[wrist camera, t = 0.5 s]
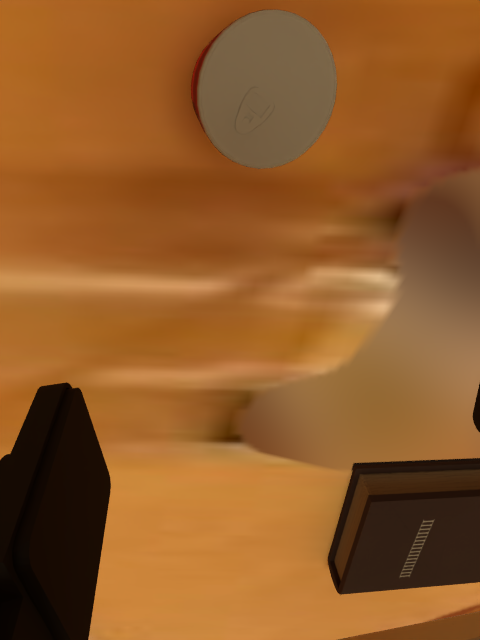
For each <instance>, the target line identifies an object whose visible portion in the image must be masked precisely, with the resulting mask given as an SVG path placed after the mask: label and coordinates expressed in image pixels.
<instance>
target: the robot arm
mask: <svg viewBox="0 0 480 640" xmlns="http://www.w3.org/2000/svg"><path fill="white" fill-rule="evenodd" d="M473 420H474V424H475V426H476V428H477V429H478V431H479V432H480V384H479V389H478V393H477V398H476V402H475V407H474V411H473ZM110 489H111V483H110V475H109V472H108V469H107V466H106V463H105V460H104V457H103V454H102V451H101V448H100V445H99V442H98V439H97V436H96V433H95V430H94V427H93V424H92V421H91V418H90V415H89V412H88V410H87V407H86V404H85V401H84V398H83V395H82V392H81V390H80V389H79V388H73V389H72V387H71V385H70V384H69V383H61V384H54V385H47V386H41V387H39V389H38V390H37V393H36V395H35V398H34V400H33V402H32V405H31V407H30V409H29V412H28V414H27V416H26V419H25V421H24V423H23V426H22V428H21V430H20V433H19V435H18V438H17V440H16V442H15V445H14V447H13V449H12V452H11V454H8V455H5V456H4V457H3V458H2V459H1V460H0V640H88V637H89V631H90V624H91V617H92V611H93V604H94V597H95V591H96V584H97V577H98V570H99V564H100V557H101V550H102V544H103V537H104V530H105V524H106V517H107V510H108V503H109V497H110ZM338 640H480V612H475V613H470V614H465V615H460V616H454V617H450V618H444V619H439V620H434V621H429V622H424V623H419V624H414V625H409V626H404V627H399V628H394V629H389V630H384V631H379V632H373V633H368V634H363V635H358V636H353V637H348V638H343V639H338Z"/></svg>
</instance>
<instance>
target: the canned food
mask: <svg viewBox="0 0 480 640" xmlns="http://www.w3.org/2000/svg"><path fill="white" fill-rule="evenodd" d="M336 88H337V79H336V68H335V64H334V60H333V55H332V53H331V51H330V49H329V46H328V44H327V42H326V40H325V39H324V38H323V36H322V35H321V34H320V32H319V31H318V29H316V28H315V27H314V26H313V25H312V24H311V23H310V22H308V21H307V20H306V19H304V18H302V17H300V16H298V15H296V14H294V13H291V12H287V11H282V10H261V11H257V12H253V13H249V14H247V15H245V16H243V17H241V18H239V19H237V20H235V21H234V22H232V23H231V24H230V25H229V26H227V27H226V28H225V29H224V30H222V31H221V32H220V33H219V34H218V35H217V36H216V37H215V38H214V39H213V40H212V41H211V42H210V43H209V44H208V45H207V46H206V48H205V49H204V50H203V51H202V53H201V55H200V57H199V59H198V60H197V62H196V65H195V68H194V72H193V76H192V83H191V97H192V102H193V107H194V110H195V112H196V115H197V117H198V120H199V122H200V124H201V126H202V128H203V130H204V132H205V133H206V135H207V136H208V138H209V139H210V141H211V143H212V144H213V145H214V146H215V147H216V148H217V149H218V150H219V151H220V152H221V153H222V154H223V155H224V156H226V157H227V158H229V159H230V160H232V161H233V162H236V163H238V164H241V165H244V166H246V167H252V168H258V169H261V168H273V167H277V166H281V165H284V164H286V163H288V162H291V161H293V160H295V159H296V158H298V157H299V156H300V155H302V154H303V153H305V152H306V151H307V150H308V149H309V148H310V147H311V146H312V145H313V144H314V143H315V142H316V141H317V139H318V138H319V136H320V135H321V133H322V132H323V131H324V129H325V127H326V125H327V123H328V121H329V118H330V116H331V113H332V110H333V106H334V103H335V97H336Z"/></svg>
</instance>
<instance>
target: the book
mask: <svg viewBox="0 0 480 640" xmlns="http://www.w3.org/2000/svg"><path fill="white" fill-rule="evenodd" d="M351 471H353V472H352V476H351V479H350V483H349V486H348V490H347V493H346V497H345V500H344V504H343V507H342V511H341V514H340V517H339V521H338V524H337V528H336V531H335V535H334V538H333V542H332V545H331V549H330V552H329V556H328V565H329V569H330V573H331V577H332V580H333V583H334V586H335V588H336V590H337V592H338V593H339V594H351V593H362V592H374V591H385V590H396V589H408V588H419V587H431V586H442V585H453V584H465V583H476V582H480V458H467V459H444V460H443V459H442V460H419V461H418V460H416V461H391V462H369V463H368V462H367V463H366V462H365V463H354V464H353V466H352V470H351Z"/></svg>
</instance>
